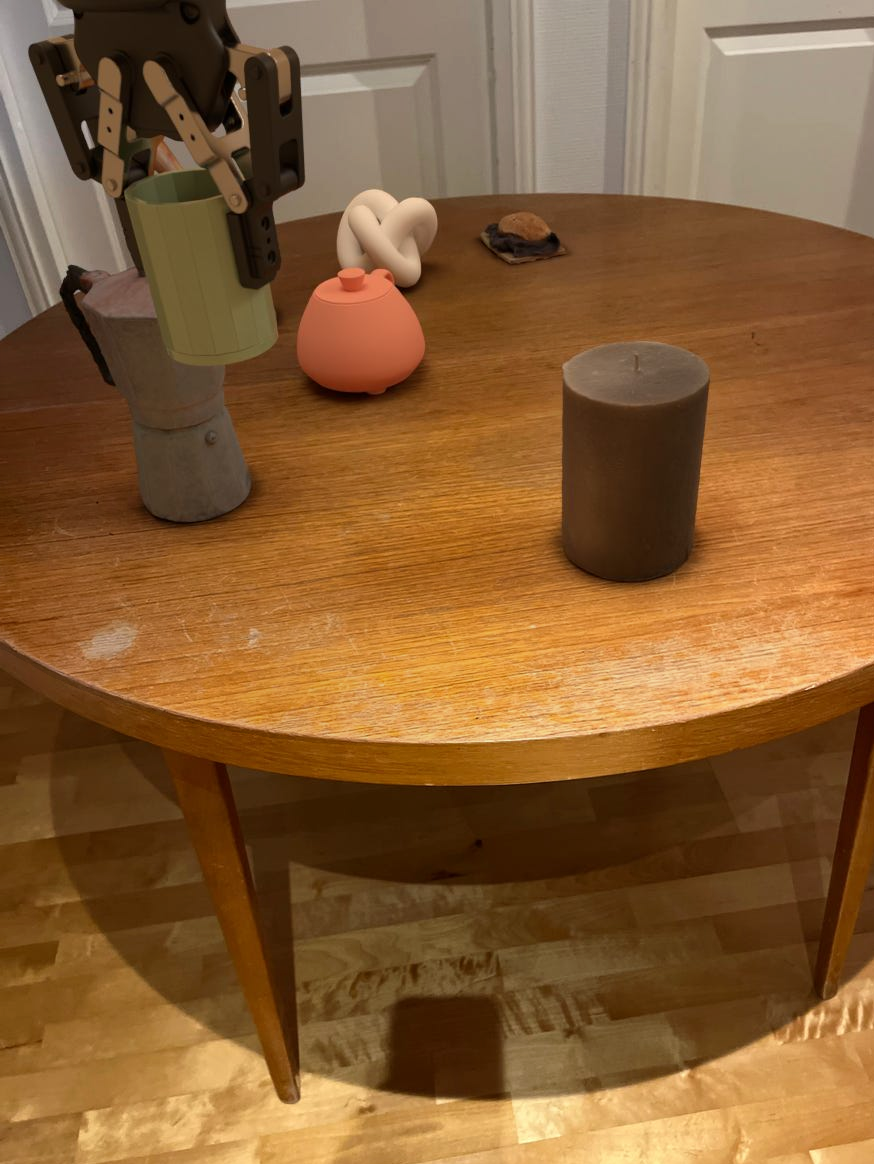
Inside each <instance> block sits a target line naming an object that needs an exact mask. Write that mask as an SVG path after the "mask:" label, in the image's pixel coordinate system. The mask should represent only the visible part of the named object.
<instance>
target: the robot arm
mask: <svg viewBox="0 0 874 1164" xmlns="http://www.w3.org/2000/svg"><path fill="white" fill-rule="evenodd" d="M56 1H57V3H58V4H59V5H61V6H62V7H64V8H65V9H68V10H71V11H72V14H73V33H68V34H64V35H61V36H56V37H53V38H49V39H45V40H41V41H38V42H34V43H31V44H30V45H29V46H28V48H27V56H28V58H29V61H30V64H31V67H32V70H33V72H34V74H35V77H36V79H37V82H38V85H39V87H40V90H41V93H42V95H43V98H44V101H45V103H46V106H47V109H48V111H49V113H50V116H51V119H52V121H53V123H54V126H55V128H56V131H57V134H58V136H59V139H60V142H61V144H62V148H63V150H64V153H65V155H66V157H67V160H68V163H69V165H70V168H71V170H72V173H73V174H74V176H75V177H77V179H78V180H81V181H83V182H85V181H89V180H93V181H94V182H97V183H98V184H100V185H102V187H103V189H104V191H105V192H106V193H107V195H108V196H110V197H111V198H113V201H114V203H115V207H116V212H117V215H118V219H119V222H120V225H121V228H122V233H123V237H124V240H125V244H126V248H127V250H128V251H129V254H131V255H132V257H133V259H135V262H136V266H137V268H138V269H139V270H140V271H145V270H144V267H143V263H142V259H141V255H140V252H139V248H138V244H137V240H136V237H135V233H134V229H133V225H132V222H131V218H130V214H129V210H128V207H127V203H126V199H125V195H124V191H125V190H126V189H127V188H128V187H129V186H130V185H131V184H132V183H134V182H137V181H139V180H141V179H144V178H146V177H149V176H152V175H155V162H156V153H157V148H158V146H159V145H160V143H161V142H162V141H164V139H165V137H166V138H168V139H170V140H172V141H175V142H181V143H184V145H185V147H186V148H187V150H188V152H189V154H190V156H191V157H192V160H193V161H194V163H195V164H196V165H197V166H198V167H199V168H204V169H206V170H208V171H209V173H210V174H211V176H212V178H213V180H214V182H215V183H216V185H217V187H218V189H219V191H220V192H221V194H222V196H223V198H224V200H225V201H226V203H227V205H228V207H229V208H230V209H231V210H232V211H231V212H229V213H227V214H226V217H227V222H228V227H229V232H230V237H231V241H232V246H233V251H234V256H235V261H236V266H237V271H238V276H239V280H240V284H241V286H242V287H243V288H248V289H254V290H258V289H260V288H262V287H263V286H265V285H266V284H268V283H270V284H271V283H272V282H273V281H274V280H275V279H276V277H277V273H278V271H280V270H281V263H282V256H281V249H280V244H279V240H278V232H277V226H276V221H275V215H274V210H273V209H274V208H273V205H274V202H276V201H278V200H279V199H281V198H282V197H284V196H286V195H288V194H289V193H292V192H295V191H297V190H300V189H301V188H302V187H303V186H304V185H305V182H306V167H305V145H304V144H305V143H304V125H303V123H304V122H303V121H304V120H303V102H302V99H303V98H302V83H301V82H302V79H301V78H302V76H301V61H300V58H299V55H298V53H297V51H296V50H295V49H294V48H293V47H291V46H290V45H281V46H278V47H273V48H270V49H265V48H261V47H257V46H254V45H248V44H245V43H242V41H241V39H240V37H239V35H238V33H237V31H236V30H235V28H234V26H233V24H232V21H231V19H230V17H229V14H228V10H227V0H56ZM237 81H238V83H239V86H240V88H238V90H237V92H236V91H235V88H236V85H237ZM241 101H243V102H246V109H245V108H244V106H243V104H242V102H241ZM246 110H247V112H246ZM83 122H85V124H86V127H87V129H88V131H89V135H90V137H91V140H92V143H93V145H94V147H91V148H90V146H89V145H88V142H87V139H86V136H85V133H84V130H83V127H82V124H83ZM221 125H222V126H223V128H224V131H225V135H223V136H221V137H218V136H217V137H216V136H215V135H213V133H215V132H216V130H217V129H218V128H220V126H221ZM234 162H235V163H234ZM235 164H236V165H237V166H236V165H235ZM238 169H239V170H238ZM238 171H240V172H241V173H242V175H243V177H244V178H245V180H243V179H242V177H241V176H240V174H239V172H238ZM131 255H130V256H131ZM132 257H131V258H132Z"/></svg>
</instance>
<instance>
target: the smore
mask: <svg viewBox="0 0 874 1164" xmlns="http://www.w3.org/2000/svg"><path fill="white" fill-rule="evenodd" d="M479 237H480V240H481V241H482V242H483V244H485V246H487V248H488V249H490V251H492V253H494V254H496V255H497V257H498V258H501V259H502V260H504V261H505V263H509V264H510V265H513V264H517V265H519V264H521V263H525V262H526V263H527V262H535V261H536V260H540V259H542V260H543V259H544V260H545V259H549V258H551V257H556V256H557V257H558V256H560V255H566V250H565V248H564V247H563V246H562V244H561V240H560V238H559V237H558V235H557V234H556V232H553V231H552V230H551V229H550V228H549V226H548V225H547V224H546V222H545V221H544V220H543V219H542V218H541V217H540V216H538V214H534V213H532V212H528V211H520V212H516V213H513V214H508V215H505V216H503V217H502V218H501V219H499V221H498V222H496V223H495V222H493V223H491V224H490V223H489V224H488V225H487V227H486V228H485V229H484V231H482V232H480V234H479Z"/></svg>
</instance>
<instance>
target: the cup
mask: <svg viewBox="0 0 874 1164" xmlns="http://www.w3.org/2000/svg"><path fill="white" fill-rule="evenodd" d="M238 172H239V174H240V176H241V177H242V179H243V180H245V178H244V177H243V175H242V173H241V171H240V170H238ZM124 195H125V199H126V203H127V207H128V210H129V214H130V218H131V222H132V225H133V229H134V233H135V237H136V240H137V244H138V248H139V252H140V255H141V259H142V263H143V267H144V270H145V274H146V278H147V282H148V285H149V289H150V293H151V297H152V300H153V304H154V308H155V312H156V315H157V319H158V323H159V327H160V330H161V334H162V338H163V342H164V345H165V349H166V352H167V354H168V355H169V356H170V357H171V358H172V359H173V360H175V361H177V362H180V363H183V364H187V365H194V366H219V365H225V366H226V365H233V364H236V363H241V362H245V361H248V360H250V359H253V358H255V357H258V356H260V355H262V354H264V353H266V352H267V351H268V350H270V349H271V348H272V347H273V346H274V345H275V344H276V343H277V341H278V338H279V332H278V322H277V317H276V316H275V310H276V309H275V306H274V305H275V304H274V300H273V295H272V289H271V282H270V283H268V284H266V285H265V286H263V287H262V288H260V289H258V290H254V289H248V288H243V287H242V286H241V284H240V280H239V276H238V271H237V266H236V261H235V256H234V251H233V246H232V241H231V237H230V232H229V227H228V222H227V217H226V214H227V213H229V212H231V211H232V210H231V209H230V208H229V207H228V205H227V203H226V201H225V200H224V198H223V196H222V194H221V192H220V191H219V189H218V187H217V185H216V183H215V182H214V180H213V178H212V176H211V174H210V173H209V171H208V170H206V169H204V168H201V167H190V168H189V167H188V168H183V169H181V170H174V171H168V172H164V173H160V174H159V173H156V174H154V175H152V176H149V177H146V178H144V179H141V180H139V181H137V182H134V183H132V184H131V185H130V186H129V187H128V188H127V189H126V190H125V191H124ZM274 309H275V310H274Z"/></svg>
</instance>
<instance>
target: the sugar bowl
mask: <svg viewBox="0 0 874 1164" xmlns="http://www.w3.org/2000/svg"><path fill="white" fill-rule="evenodd" d="M300 319H301V320H300V323H299V327H298V330H297V338H296V354H297V355H296V357H297V362H298V365H299V366H300V368H301V370H302V371H303V372H304V373H305V374H306V375H307V376H308V377H309V378H310V379H311V380H313V381H314V382H316V383H317V384H318V385H320V386H322V387H323V388H325V389H329V390H332V391H338V392H345V393H364V392H365V393H367V394H368V395H380V394H383V393H385V392H386V390H387V388H390V387H392V386H395V385H397V384H399V383H401V382H403V381H404V380H406V379H407V378H409V377H410V376H411V374H412V373H413V372H415V370H416V369H417V367H418V366H419V364H420V363H421V361H422V360H423V358H424V355H425V352H426V342H425V341H426V340H425V336H424V332H423V328H422V327H421V324H420V321H419V319H418V317H417V315H416V313H415V311H414V310H413V308H412V306H411V305H410V303H409V302H408V300H407V299H406V298H405V297H404V296H403V294H402V293H401V291H400V290H399V289H398V288H397V286H396V285H395V284H394V278H393V275H392V274H391V272H389V271H388V270H385V269H376V270H374V271H373V272H372V273H371V274H365V271H364V270H363V269H360V268H347V269H344V270H342V269H341V270H340V271H339V272H337V276H336V277H332V278H329V279H327V280H325V281H323V282H321V283H320V284H318V286H316V288H314V290H313V291H312V294H311V295H310V298H309V300H308V302H307V304H306V306H305V309H304V311H303V314H302V317H301V318H300Z"/></svg>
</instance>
